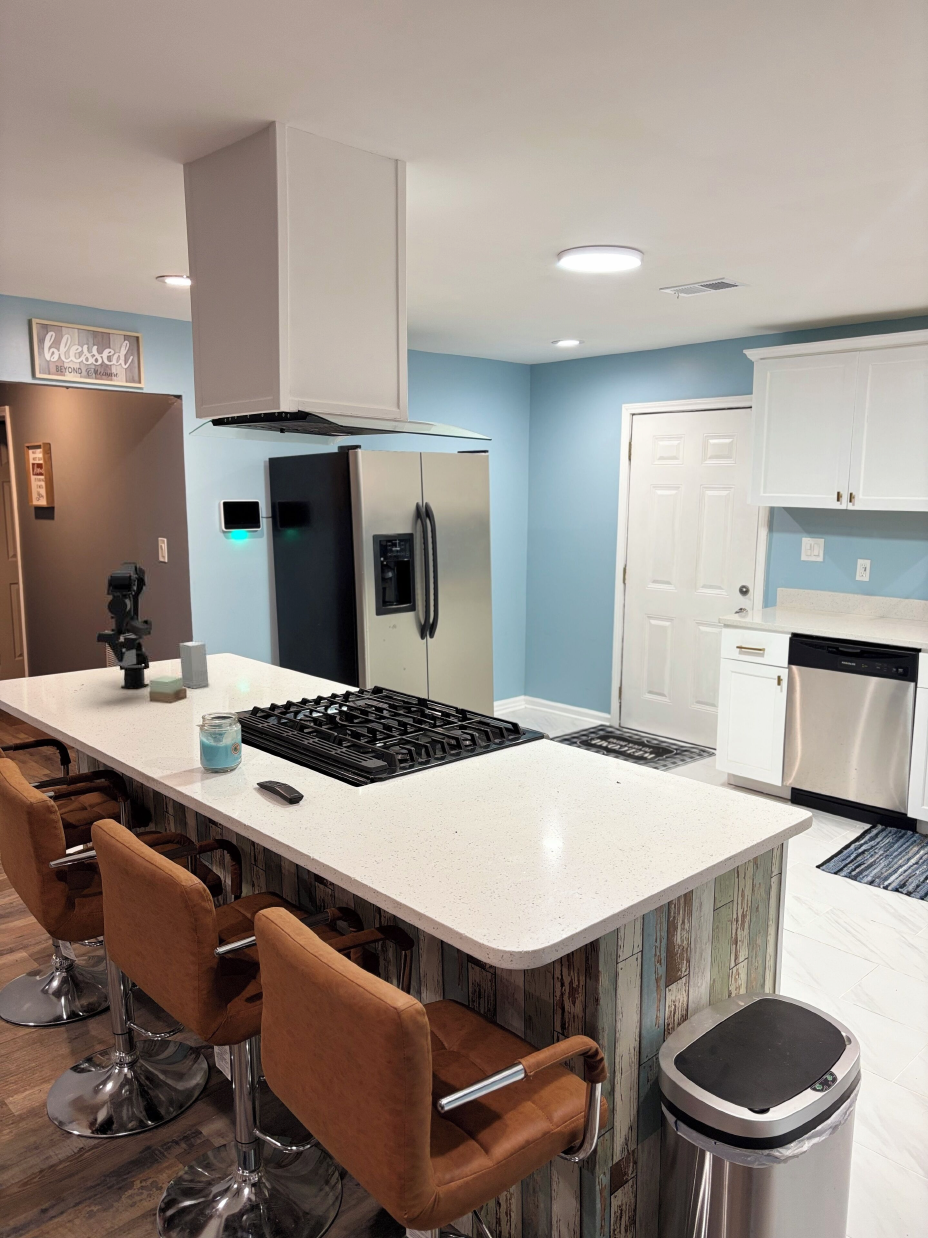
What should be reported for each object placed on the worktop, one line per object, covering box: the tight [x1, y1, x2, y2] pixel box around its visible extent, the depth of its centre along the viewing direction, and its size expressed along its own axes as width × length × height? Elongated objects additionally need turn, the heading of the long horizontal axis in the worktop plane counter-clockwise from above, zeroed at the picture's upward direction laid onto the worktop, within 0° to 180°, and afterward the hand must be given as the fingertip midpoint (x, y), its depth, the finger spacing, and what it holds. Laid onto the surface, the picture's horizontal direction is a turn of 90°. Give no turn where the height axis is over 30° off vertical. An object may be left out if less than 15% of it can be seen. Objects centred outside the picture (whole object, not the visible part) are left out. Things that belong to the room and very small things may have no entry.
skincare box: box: [179, 641, 210, 689], centre depth 304 cm, size 8×6×15 cm
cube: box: [113, 649, 136, 666], centre depth 285 cm, size 4×4×4 cm
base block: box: [148, 687, 188, 704], centre depth 285 cm, size 8×8×4 cm
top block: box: [149, 675, 184, 693], centre depth 285 cm, size 7×7×4 cm
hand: (125, 660), depth 285 cm, fingers closed on cube, 4 cm apart
